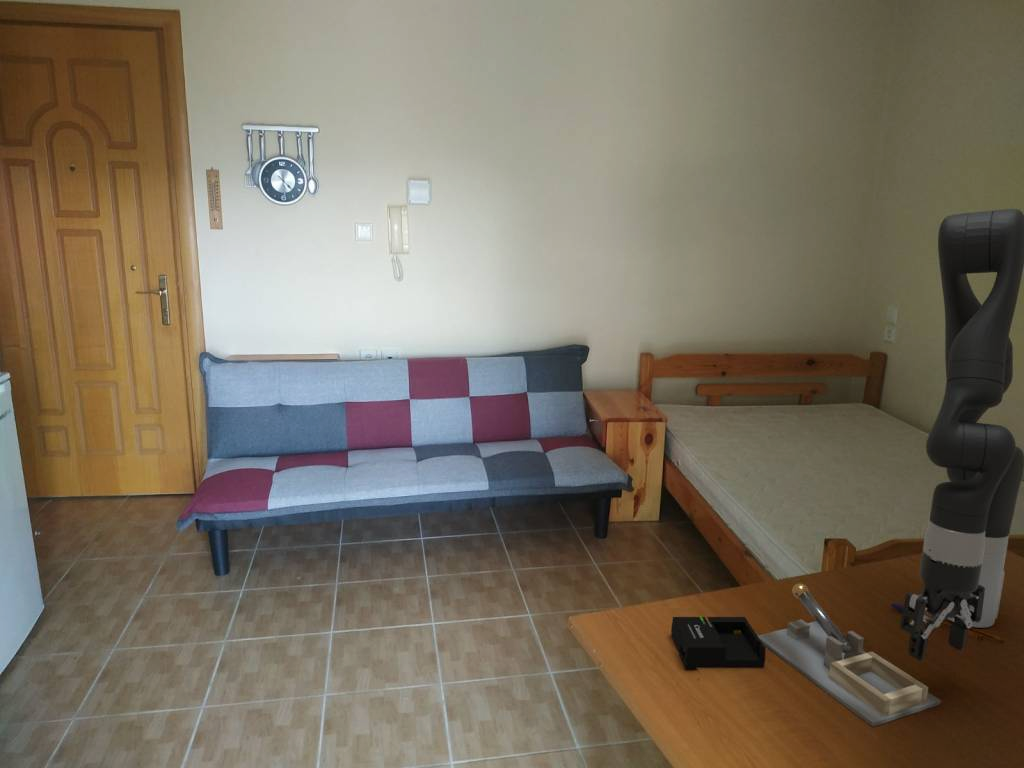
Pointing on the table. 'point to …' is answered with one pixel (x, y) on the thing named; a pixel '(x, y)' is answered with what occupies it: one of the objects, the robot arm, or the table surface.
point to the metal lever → (820, 615)
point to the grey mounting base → (850, 673)
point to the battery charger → (717, 642)
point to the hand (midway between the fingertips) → (936, 652)
